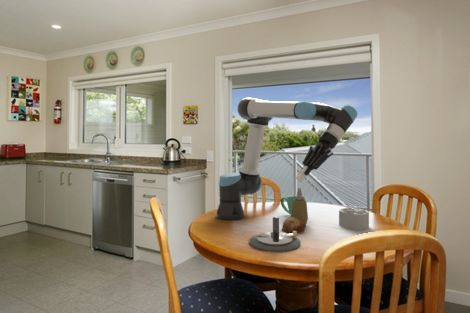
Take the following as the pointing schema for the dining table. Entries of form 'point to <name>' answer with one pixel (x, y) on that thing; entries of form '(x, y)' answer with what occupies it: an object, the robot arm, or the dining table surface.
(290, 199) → the mug
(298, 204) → the squeeze bottle
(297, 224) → the bread roll
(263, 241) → the flange plate
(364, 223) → the lumpy-topped squat cylinder
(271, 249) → the base pad
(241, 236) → the dining table surface
